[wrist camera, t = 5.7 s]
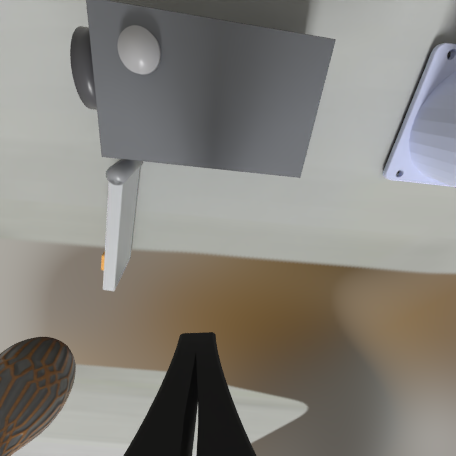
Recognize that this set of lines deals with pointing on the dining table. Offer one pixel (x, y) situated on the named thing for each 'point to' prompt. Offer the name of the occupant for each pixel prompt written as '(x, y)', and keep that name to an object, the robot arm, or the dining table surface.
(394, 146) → the robot arm
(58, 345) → the brown ribbed ovoid
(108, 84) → the camera body
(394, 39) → the dining table surface
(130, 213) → the side door
